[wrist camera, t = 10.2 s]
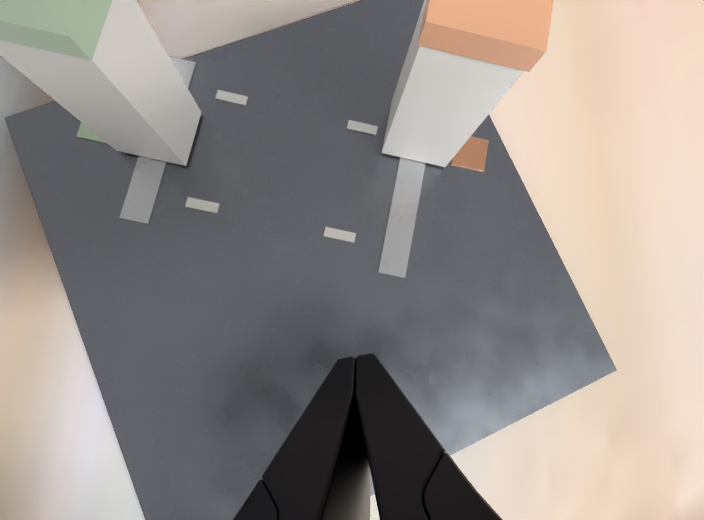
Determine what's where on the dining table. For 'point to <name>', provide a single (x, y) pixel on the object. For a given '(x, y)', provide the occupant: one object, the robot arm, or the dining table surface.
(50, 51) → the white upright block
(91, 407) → the dining table surface
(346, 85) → the switch panel
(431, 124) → the terracotta slider
